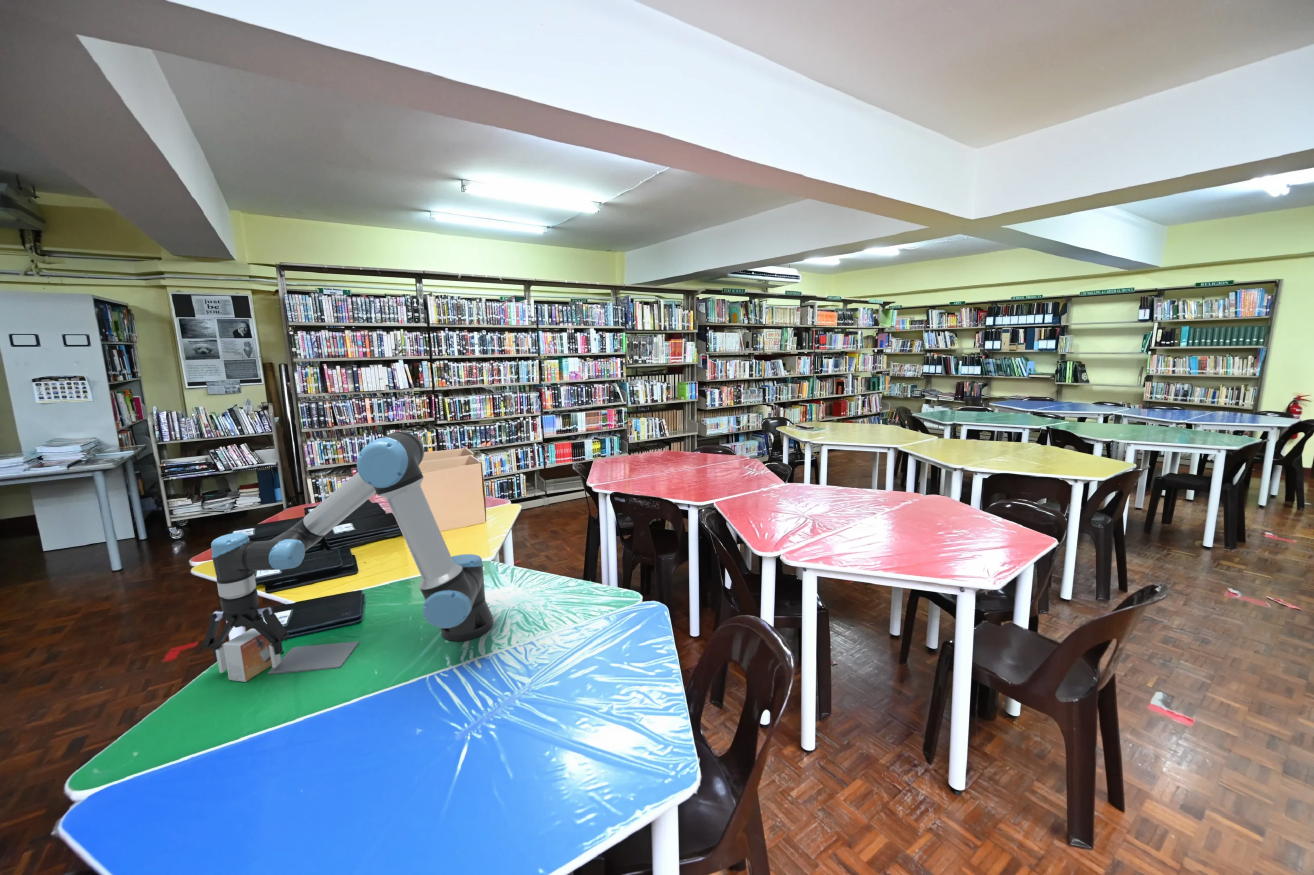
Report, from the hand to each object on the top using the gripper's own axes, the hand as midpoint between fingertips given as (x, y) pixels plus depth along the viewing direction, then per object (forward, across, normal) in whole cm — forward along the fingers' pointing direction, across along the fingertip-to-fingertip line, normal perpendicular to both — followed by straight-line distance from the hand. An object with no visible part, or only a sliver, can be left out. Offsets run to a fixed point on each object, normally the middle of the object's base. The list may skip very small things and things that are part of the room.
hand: (251, 667), depth 135 cm
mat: (+1, -14, -4) cm, 15 cm away
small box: (+2, 0, 0) cm, 2 cm away
